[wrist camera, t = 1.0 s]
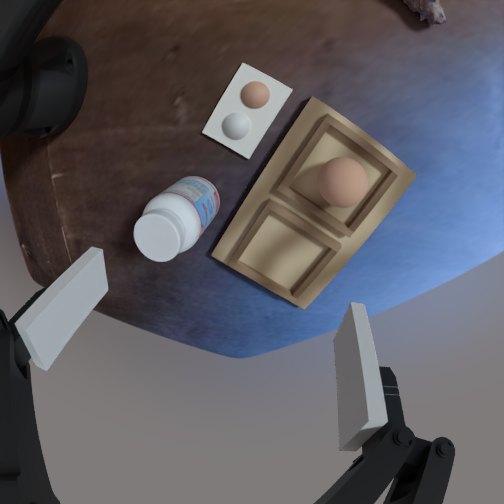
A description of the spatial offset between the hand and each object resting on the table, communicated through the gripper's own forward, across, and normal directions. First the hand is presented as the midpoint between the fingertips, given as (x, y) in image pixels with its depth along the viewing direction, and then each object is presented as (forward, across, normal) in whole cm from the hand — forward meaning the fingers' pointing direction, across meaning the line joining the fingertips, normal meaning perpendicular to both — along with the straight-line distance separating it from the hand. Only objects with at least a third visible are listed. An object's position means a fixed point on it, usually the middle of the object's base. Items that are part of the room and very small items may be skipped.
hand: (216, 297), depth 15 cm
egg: (+19, +8, +3) cm, 21 cm away
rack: (+20, +6, -2) cm, 21 cm away
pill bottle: (+21, -7, -3) cm, 22 cm away
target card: (+21, -3, +8) cm, 22 cm away
